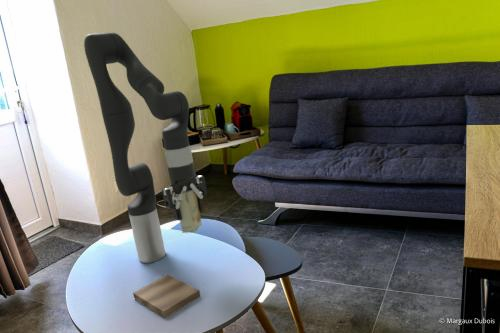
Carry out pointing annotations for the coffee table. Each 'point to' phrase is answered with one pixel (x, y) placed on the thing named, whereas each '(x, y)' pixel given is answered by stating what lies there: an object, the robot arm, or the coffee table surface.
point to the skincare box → (189, 212)
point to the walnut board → (166, 295)
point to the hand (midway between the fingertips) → (189, 214)
